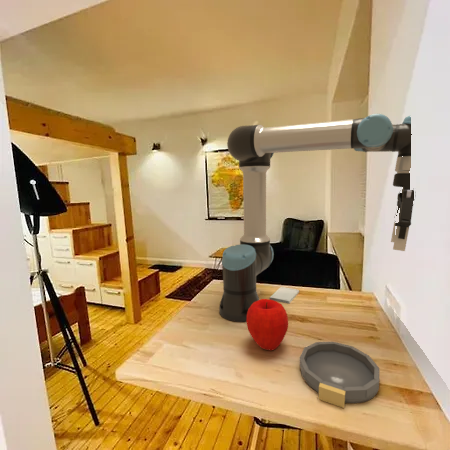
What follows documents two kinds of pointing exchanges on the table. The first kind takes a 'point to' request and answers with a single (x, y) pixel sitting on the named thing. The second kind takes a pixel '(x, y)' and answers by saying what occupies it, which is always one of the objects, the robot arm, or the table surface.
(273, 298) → the hard drive
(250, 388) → the table surface
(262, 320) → the apple
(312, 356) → the dish
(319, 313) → the table surface
